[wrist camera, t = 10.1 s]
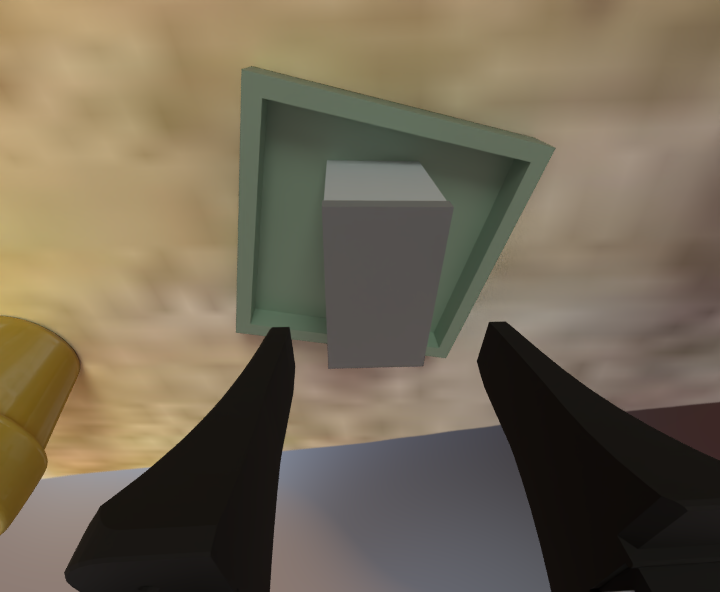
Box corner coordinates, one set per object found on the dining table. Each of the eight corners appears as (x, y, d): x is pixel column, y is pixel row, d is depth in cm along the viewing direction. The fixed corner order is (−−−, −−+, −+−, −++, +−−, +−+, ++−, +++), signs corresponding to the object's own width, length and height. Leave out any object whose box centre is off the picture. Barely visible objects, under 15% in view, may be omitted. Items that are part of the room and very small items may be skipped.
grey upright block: (420, 160, 17) (454, 207, 12) (403, 294, 22) (423, 366, 17) (325, 159, 17) (321, 206, 12) (330, 295, 21) (328, 368, 17)
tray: (534, 138, 17) (555, 147, 15) (438, 337, 25) (446, 358, 23) (251, 66, 15) (241, 69, 13) (243, 311, 22) (235, 332, 21)
